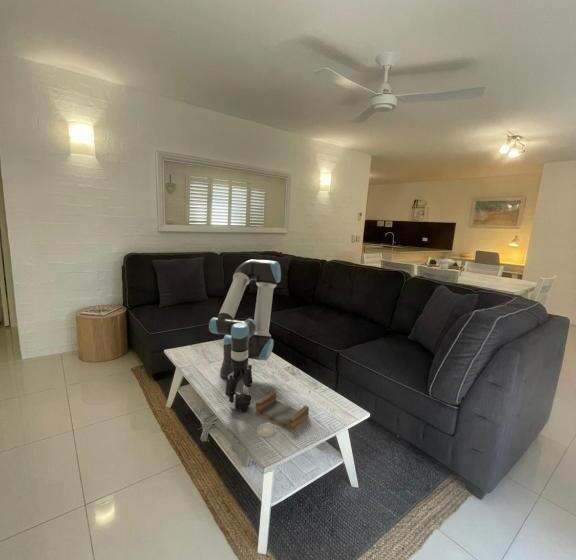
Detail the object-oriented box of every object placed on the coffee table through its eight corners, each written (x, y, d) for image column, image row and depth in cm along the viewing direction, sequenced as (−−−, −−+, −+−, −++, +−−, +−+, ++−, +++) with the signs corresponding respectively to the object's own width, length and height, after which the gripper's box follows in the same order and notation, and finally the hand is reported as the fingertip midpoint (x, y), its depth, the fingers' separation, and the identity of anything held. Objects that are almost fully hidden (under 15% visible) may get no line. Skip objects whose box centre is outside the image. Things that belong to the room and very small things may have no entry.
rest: (255, 412, 137) (256, 402, 136) (272, 400, 147) (273, 390, 146) (292, 432, 126) (293, 420, 125) (308, 417, 135) (308, 407, 134)
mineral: (226, 412, 136) (227, 400, 135) (231, 400, 145) (231, 388, 143) (249, 413, 136) (250, 401, 134) (252, 401, 144) (253, 390, 143)
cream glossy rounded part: (252, 432, 125) (252, 430, 125) (264, 422, 132) (264, 420, 131) (268, 440, 121) (268, 439, 120) (279, 429, 127) (280, 428, 127)
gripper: (228, 369, 127) (228, 417, 132) (261, 352, 143) (260, 396, 148) (216, 363, 131) (216, 410, 136) (249, 347, 147) (248, 390, 152)
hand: (239, 403), depth 142 cm, fingers closed on mineral, 8 cm apart
